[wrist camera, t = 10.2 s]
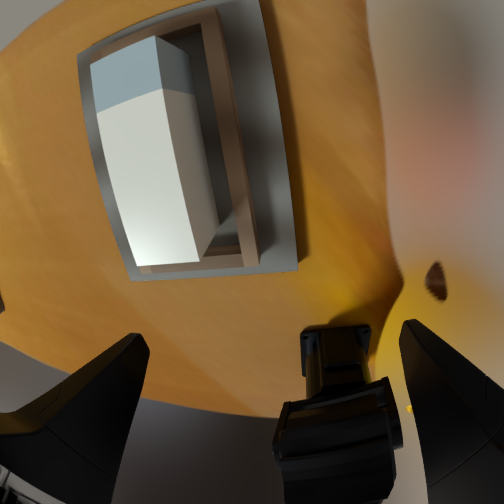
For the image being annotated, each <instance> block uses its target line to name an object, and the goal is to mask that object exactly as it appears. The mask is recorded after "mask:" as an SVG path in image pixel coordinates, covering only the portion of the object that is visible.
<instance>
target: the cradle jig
mask: <svg viewBox="0 0 504 504" xmlns="http://www.w3.org/2000/svg"><path fill="white" fill-rule="evenodd" d="M154 35H155V36H157V37H159V38H161V39H163V40H164V41H166V42H168V43H170V44H172V45H174V46H175V47H177V48H179V49H181V50H182V51H184V52H186V53H187V54H189V60H190V67H191V73H192V79H193V85H194V91H195V97H196V103H197V108H198V114H199V120H200V125H201V131H202V136H203V142H204V147H205V152H206V158H207V163H208V168H209V173H210V178H211V183H212V189H213V194H214V199H215V203H216V208H217V213H218V218H219V223H220V227H219V228H218V230H217V232H216V234H215V235H214V237H213V239H212V241H211V242H210V244H209V246H208V248H207V249H206V251H205V253H204V255H203V256H202V258H201V260H200V261H198V262H185V263H173V264H159V265H146V266H137V264H136V262H135V259H134V256H133V253H132V250H131V247H130V244H129V241H128V238H127V235H126V232H125V229H124V226H123V223H122V219H121V216H120V213H119V209H118V206H117V202H116V199H115V195H114V192H113V188H112V184H111V180H110V176H109V172H108V168H107V164H106V160H105V155H104V151H103V146H102V141H101V136H100V131H99V125H98V120H97V114H96V108H95V101H94V94H93V87H92V78H91V69H90V65H91V64H93V63H94V62H96V61H98V60H100V59H102V58H104V57H106V56H108V55H110V54H112V53H114V52H116V51H119V50H121V49H123V48H125V47H127V46H130V45H132V44H134V43H137V42H139V41H142V40H144V39H147V38H149V37H152V36H154ZM77 64H78V75H79V84H80V92H81V100H82V107H83V113H84V119H85V125H86V130H87V135H88V140H89V145H90V150H91V154H92V159H93V163H94V167H95V171H96V175H97V179H98V183H99V187H100V191H101V194H102V198H103V201H104V205H105V208H106V211H107V215H108V218H109V221H110V224H111V227H112V230H113V233H114V236H115V239H116V242H117V245H118V248H119V250H120V253H121V256H122V259H123V261H124V264H125V267H126V269H127V272H128V274H129V277H130V279H131V281H149V280H168V279H186V278H202V277H218V276H233V275H247V274H261V273H274V272H287V271H298V259H297V248H296V238H295V227H294V218H293V208H292V200H291V191H290V182H289V174H288V166H287V159H286V151H285V144H284V137H283V130H282V123H281V117H280V110H279V104H278V98H277V92H276V86H275V80H274V74H273V69H272V63H271V58H270V52H269V47H268V42H267V37H266V32H265V27H264V22H263V18H262V13H261V8H260V4H259V0H205V1H201V2H197V3H194V4H190V5H187V6H184V7H180V8H177V9H174V10H171V11H168V12H166V13H163V14H160V15H157V16H155V17H152V18H150V19H147V20H145V21H142V22H140V23H137V24H135V25H133V26H131V27H128V28H126V29H124V30H122V31H120V32H118V33H116V34H114V35H112V36H110V37H108V38H106V39H104V40H102V41H100V42H98V43H96V44H95V45H93V46H91V47H89V48H88V49H86V50H84V51H82V52H81V53H79V54H77Z"/></svg>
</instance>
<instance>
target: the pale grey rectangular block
mask: <svg viewBox="0 0 504 504" xmlns="http://www.w3.org/2000/svg"><path fill="white" fill-rule="evenodd" d="M90 69H91V78H92V87H93V94H94V101H95V108H96V114H97V120H98V125H99V131H100V136H101V141H102V146H103V151H104V155H105V160H106V164H107V168H108V172H109V176H110V180H111V184H112V188H113V192H114V195H115V199H116V202H117V206H118V209H119V213H120V216H121V219H122V223H123V226H124V229H125V232H126V235H127V238H128V241H129V244H130V247H131V250H132V253H133V256H134V259H135V262H136V264H137V266H146V265H159V264H173V263H185V262H198V261H200V260H201V258H202V256H203V255H204V253H205V251H206V249H207V248H208V246H209V244H210V242H211V241H212V239H213V237H214V235H215V234H216V232H217V230H218V228H219V227H220V223H219V218H218V213H217V208H216V203H215V199H214V194H213V189H212V183H211V178H210V173H209V168H208V163H207V158H206V152H205V147H204V142H203V136H202V131H201V125H200V120H199V114H198V108H197V103H196V97H195V91H194V85H193V79H192V73H191V67H190V60H189V54H187V53H186V52H184V51H182V50H181V49H179V48H177V47H175V46H174V45H172V44H170V43H168V42H166V41H164V40H163V39H161V38H159V37H157V36H155V35H154V36H152V37H149V38H147V39H144V40H142V41H139V42H137V43H134V44H132V45H130V46H127V47H125V48H123V49H121V50H119V51H116V52H114V53H112V54H110V55H108V56H106V57H104V58H102V59H100V60H98V61H96V62H94V63H93V64H91V65H90Z"/></svg>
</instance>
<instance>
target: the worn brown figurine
mask: <svg viewBox="0 0 504 504" xmlns="http://www.w3.org/2000/svg"><path fill="white" fill-rule="evenodd" d="M4 310H5V309H4V305H3V303H2V301H1V299H0V314H1V313H2V312H3V311H4Z"/></svg>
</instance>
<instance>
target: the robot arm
mask: <svg viewBox="0 0 504 504" xmlns="http://www.w3.org/2000/svg"><path fill="white" fill-rule="evenodd" d="M364 330H366V331H364ZM370 335H371V328H370V326H369V325H359V326H350V327H341V328H331V329H319V330H307V331H303V332H301V333H300V345H301V363H302V376H303V377H306V399H304V400H299V401H294V402H291V401H289V402H284V404H283V408H282V410H281V414H280V417H279V421H278V424H277V428H276V431H275V435H274V438H273V442H272V446H273V447H272V453H273V454H274V456H275V461H276V463H277V466H278V467H279V469H280V470H281V471H282V476H283V482H284V500H285V503H286V504H381V503H382V501H383V500H384V499H387V498H388V496H389V494H390V492H391V490H392V488H393V486H394V481H395V479H396V465H395V457H394V450H395V449H400V448H403V437H402V430H401V423H400V418H399V414H398V410H397V406H396V403H395V399H394V395H393V392H392V388H391V385H390V382H389V379H388V376H387V377H384V378H382V379H381V380H378V381H375V382H372V381H371V377H370V372H369V368H368V363H367V359H366V357H367V352H368V347H369V341H370ZM305 336H306V337H305ZM399 347H400V352H401V357H402V363H403V369H404V375H405V381H406V385H407V390H408V394H409V397H410V401H411V405H412V409H413V414H414V418H415V422H416V427H417V431H418V436H419V440H420V446H421V452H422V457H423V463H424V469H425V477H426V484H427V494H428V504H504V389H503V388H501V387H500V386H499V385H498V384H497V383H495V382H494V381H493V380H492V379H491V378H489V377H488V376H486V375H485V374H484V373H483V372H482V371H481V370H480V369H478V368H477V367H476V366H475V365H474V364H472V363H471V362H470V361H469V360H468V359H466V358H465V357H464V356H463V355H461V354H460V353H459V352H458V351H456V350H455V349H454V348H453V347H451V346H450V345H449V344H448V343H446V342H445V341H444V340H442V339H441V338H440V337H439V336H437V335H436V334H435V333H433V332H432V331H431V330H430V329H428V328H427V327H426V326H424V325H423V324H422V323H420V322H419V321H418V320H416V319H411V320H406V321H404V322H403V325H402V330H401V333H400V337H399ZM149 356H150V350H149V347H148V346H147V344H146V342H145V340H144V338H143V336H142V335H141V334H140V333H129V334H128V335H127V336H125V337H124V338H122V339H121V340H120V341H118V342H117V343H115V344H114V345H112V346H111V347H110V348H108V349H107V350H105V351H104V352H103V353H101V354H100V355H98V356H97V357H96V358H94V359H93V360H91V361H90V362H89V363H87V364H86V365H84V366H83V367H82V368H80V369H79V370H77V371H76V372H75V373H73V374H72V375H70V376H69V377H68V378H66V379H65V380H63V382H61V383H59V384H58V385H56V386H55V387H54V388H52V389H51V390H49V391H48V392H46V393H45V394H43V395H41V396H40V397H38V398H37V399H35V400H33V401H32V402H30V403H28V404H27V405H25V406H23V407H22V408H20V409H18V410H16V411H14V412H10V413H0V504H111V501H112V497H113V493H114V488H115V484H116V478H117V475H118V471H119V468H120V464H121V460H122V456H123V452H124V449H125V445H126V441H127V438H128V434H129V431H130V427H131V424H132V421H133V417H134V414H135V411H136V407H137V404H138V401H139V398H140V395H141V391H142V388H143V383H144V379H145V374H146V369H147V365H148V360H149Z"/></svg>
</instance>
